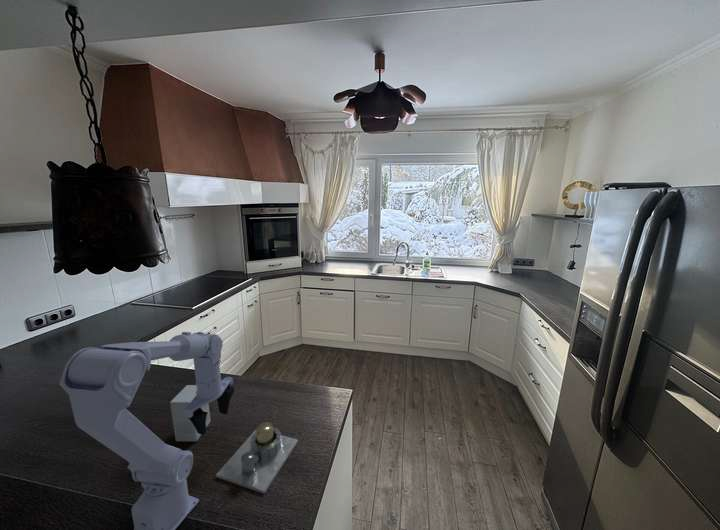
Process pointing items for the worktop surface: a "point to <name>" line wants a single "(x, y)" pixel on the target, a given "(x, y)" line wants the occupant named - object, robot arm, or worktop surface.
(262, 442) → the brass rounded plug
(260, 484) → the manifold plate
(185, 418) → the small box
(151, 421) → the worktop surface
